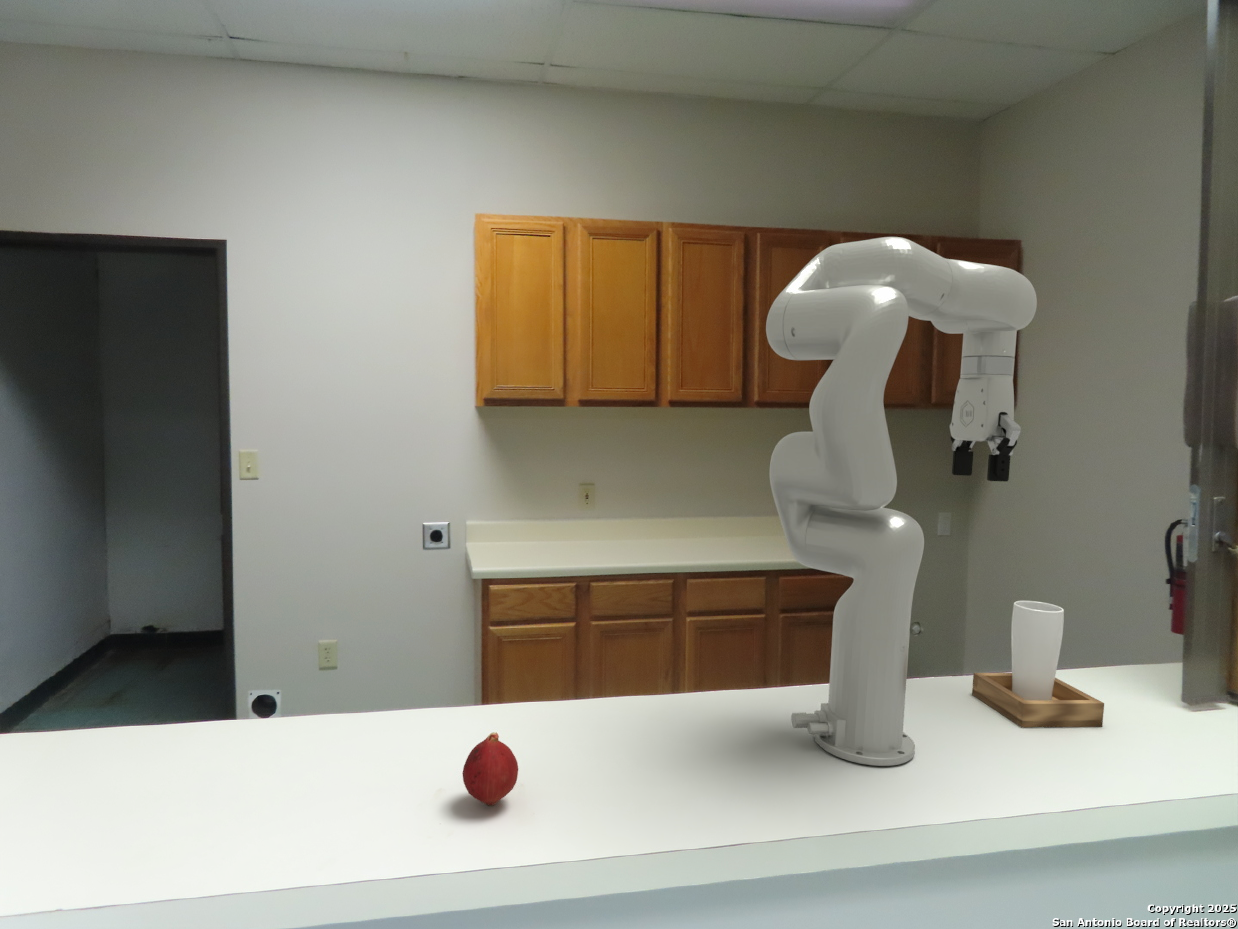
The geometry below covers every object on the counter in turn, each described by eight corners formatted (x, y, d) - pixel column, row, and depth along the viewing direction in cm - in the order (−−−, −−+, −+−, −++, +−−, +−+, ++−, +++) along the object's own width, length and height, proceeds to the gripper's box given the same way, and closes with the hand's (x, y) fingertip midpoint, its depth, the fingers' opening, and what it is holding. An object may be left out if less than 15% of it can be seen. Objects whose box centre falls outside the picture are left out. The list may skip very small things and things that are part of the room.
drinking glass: (1045, 697, 116) (1052, 602, 115) (1064, 714, 110) (1073, 613, 109) (999, 693, 117) (1006, 598, 116) (1015, 710, 110) (1023, 609, 110)
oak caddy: (1022, 727, 107) (1023, 703, 106) (972, 694, 119) (973, 673, 119) (1102, 727, 108) (1104, 703, 108) (1044, 694, 120) (1046, 672, 120)
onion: (468, 823, 77) (470, 748, 77) (457, 796, 82) (458, 725, 82) (523, 813, 79) (525, 740, 79) (508, 787, 85) (510, 718, 84)
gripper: (935, 371, 126) (928, 472, 127) (997, 365, 109) (989, 483, 110) (977, 373, 127) (970, 473, 128) (1046, 368, 110) (1036, 484, 111)
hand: (979, 477), depth 119 cm, fingers open, 9 cm apart
